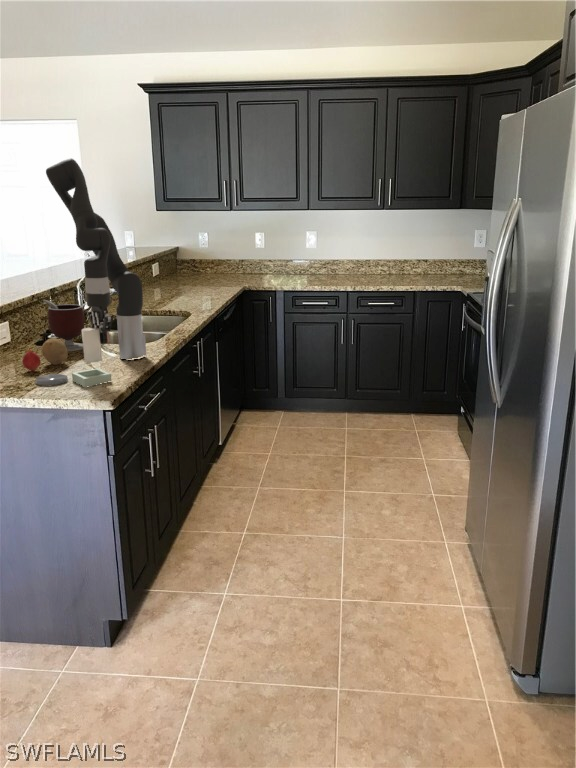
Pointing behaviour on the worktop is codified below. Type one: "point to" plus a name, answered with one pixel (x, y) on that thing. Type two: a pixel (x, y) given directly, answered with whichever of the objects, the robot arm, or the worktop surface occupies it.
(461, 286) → the worktop surface
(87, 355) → the jug
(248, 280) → the worktop surface
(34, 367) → the onion
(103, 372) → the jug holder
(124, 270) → the robot arm
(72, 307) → the mate gourd
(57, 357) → the natural sponge
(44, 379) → the coaster
